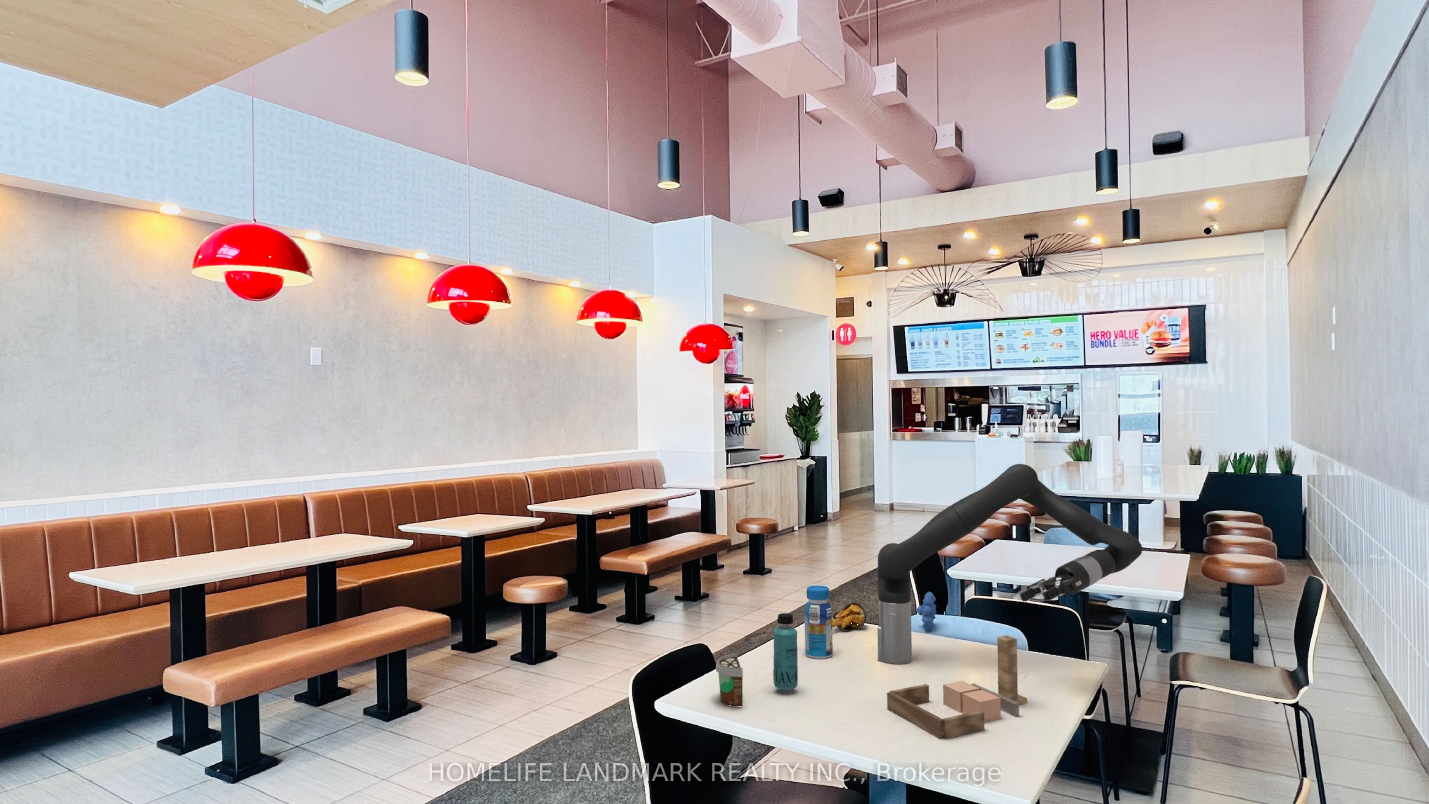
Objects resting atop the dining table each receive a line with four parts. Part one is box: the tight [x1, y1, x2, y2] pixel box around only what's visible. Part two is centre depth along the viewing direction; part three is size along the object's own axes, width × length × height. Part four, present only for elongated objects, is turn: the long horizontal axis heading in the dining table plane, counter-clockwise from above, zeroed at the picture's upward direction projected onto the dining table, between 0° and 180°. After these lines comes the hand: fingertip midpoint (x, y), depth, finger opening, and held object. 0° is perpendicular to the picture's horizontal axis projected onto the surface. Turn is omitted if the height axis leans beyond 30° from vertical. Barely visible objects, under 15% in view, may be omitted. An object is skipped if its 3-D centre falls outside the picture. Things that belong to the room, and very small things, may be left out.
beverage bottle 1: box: [772, 612, 799, 691], centre depth 206 cm, size 6×7×20 cm
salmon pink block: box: [962, 690, 1002, 723], centre depth 188 cm, size 6×6×5 cm
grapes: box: [915, 591, 937, 632], centre depth 262 cm, size 12×7×12 cm, turn 155°
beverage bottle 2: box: [803, 584, 834, 660], centre depth 236 cm, size 8×8×20 cm
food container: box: [715, 653, 744, 707], centre depth 200 cm, size 12×6×10 cm, turn 5°
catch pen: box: [886, 683, 985, 740], centre depth 187 cm, size 12×20×4 cm, turn 24°
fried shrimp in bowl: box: [832, 601, 867, 632], centre depth 261 cm, size 9×11×18 cm
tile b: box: [942, 680, 979, 713], centre depth 194 cm, size 6×6×5 cm
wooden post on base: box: [970, 634, 1028, 718], centre depth 196 cm, size 9×15×16 cm, turn 24°
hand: (1033, 597), depth 201 cm, fingers open, 8 cm apart
